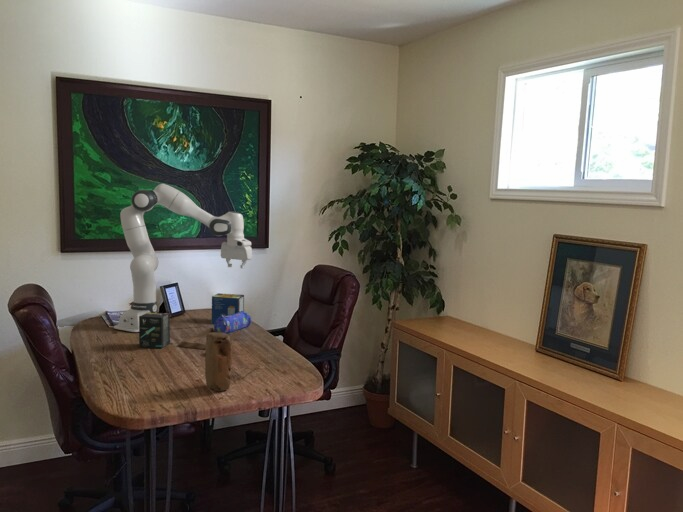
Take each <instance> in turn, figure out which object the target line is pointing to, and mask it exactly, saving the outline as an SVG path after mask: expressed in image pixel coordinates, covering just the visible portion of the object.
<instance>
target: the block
mask: <svg viewBox="0 0 683 512" xmlns="http://www.w3.org/2000/svg"><path fill="white" fill-rule="evenodd" d="M229 335H230V334H229ZM229 335H228V333H223V332H219V333H217V332H216V331H215V332H214V331H213V332H212V333H208V334H207V336H206V342H205V343H206V349H205V364H204V366H205V367H204V368H205V369H204V370H205V371H204V373H205V374H204V375H205V384H206V386H207V387H208V388H209V389H210V390H213V391H218V392H221V391H222V392H223V391H226V390H229V388H230V386H231V377H232V376H231V369H232V364H233V363H232V361H233V346H232V340H230V337H229Z"/></svg>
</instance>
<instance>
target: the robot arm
mask: <svg viewBox="0 0 683 512" xmlns="http://www.w3.org/2000/svg"><path fill="white" fill-rule="evenodd" d="M130 202H131V205H129V206H126V207H123V208H122V210H121V211H120V214H119V216H120V224H121V227H122V231H123V235H124V239H125V241H126V244H127V247H128V249H129V251H130V252H131V254H132V256H133V259H132V260H131V261H130V266H129V268H130V270H129V271H130V272H131V273H130V274H131V280H132V284H133V286H132V289H133V297H132V298H133V301H132V302H130V303H129V302H128V305H129V306H130V308H129V309H128V310H126V311H125V312H124V313H123V314H121V315H120V316H119V320H118V323H117V324H116V325H114V327H113V329H115V330H120V331H126V332H130V333H131V332H132V333H139V316H142V315H144V314H146V313H158V312H157V310H158V301H157V285H156V281H155V271H156V270H157V269H158V267H159V259H158V257H157V254H156V252H155V249H154V247H153V245H152V243H151V239H150V238H149V234H148V230H147V226H146V224H145V220H144V219H145V218H144V215H145V214H146V213H147V212H150V211H151V210H152V209H154V207H155V206H156V205H159V206H162V207H165V208H166V209H167V210H169V211H171V212H173V213H175V214H177V215H180V216H186V217H190V218H193V219H195V220H196V221H199V222H200V223H202V224H204V225H205V226H207V227H208V228H209V232H210V233H211V234H212V235H213V236H216V237H221V236H224V235H225V236H226V240H225V241H223V242H221V247H220V257H221V259H225V262H226V263H227V267H228V268H232V267H233V263H231V262H232V261H231V260H239V261H241V264H240V265H239V266H240V269H245V268H246V264H247V261H251V260H252V259H253V248H252V241H250V240H249V239H247V238H245V234H244V229H245V223H244V216H243V214H242V213H241V212H238V211H232V210H229V211H228V212H226V213H225V214H222V215H220V216H218V215H217V216H215V215H213V214H212V213H209V212H207V211H206V210H204V209H202V208H201V207H199V206H198V205H197V204H196V203H195V202H194V201H193V200H192V199H191V198H190V197H189V196H188V195H186V194H185V193H184V192H182V191H181V190H179V189H177V188H175V187H173V186H170V185H168V184H166V183H159V184H158V185H157V186H155V188H154V189H153V190H151V189H139V190H137V191H135V192H133V194H132V195H131V200H130Z"/></svg>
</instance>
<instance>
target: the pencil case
mask: <svg viewBox="0 0 683 512" xmlns="http://www.w3.org/2000/svg"><path fill="white" fill-rule="evenodd" d="M251 323H252V318H251V315H250V314H249V312H246V311H245V310H244V311H240V312H238V313H236V314H233V315H228V316H223V315H222V316H220V317H219V318H217V319H216V321H215V323H214V324H213V330H214V331H215V333H219V332H223V333H226V334H228V333H229V334H230V333H234V332H237V331H240V330H241V329H244V328H248V327H250V326H251Z"/></svg>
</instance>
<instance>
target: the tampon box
mask: <svg viewBox="0 0 683 512" xmlns="http://www.w3.org/2000/svg"><path fill="white" fill-rule="evenodd" d="M170 314H171V313H165V312H164V313H163V312H156V313H146V314H144V315H142V316H139V332H138V335H139V337H138V338H139V339H138V340H139V341H138V342H139V343H138V345H139V346H138V347H139V348H144V349H163V348H165V347H166V346H168V345H169V344H171V324H170V323H171V322H170V321H171V320H170V318H171V317H170Z"/></svg>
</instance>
